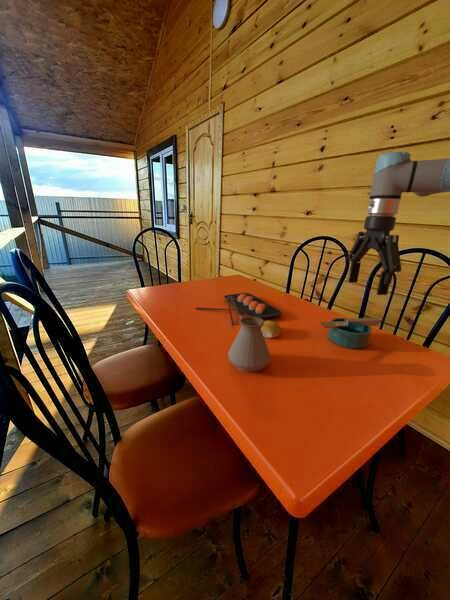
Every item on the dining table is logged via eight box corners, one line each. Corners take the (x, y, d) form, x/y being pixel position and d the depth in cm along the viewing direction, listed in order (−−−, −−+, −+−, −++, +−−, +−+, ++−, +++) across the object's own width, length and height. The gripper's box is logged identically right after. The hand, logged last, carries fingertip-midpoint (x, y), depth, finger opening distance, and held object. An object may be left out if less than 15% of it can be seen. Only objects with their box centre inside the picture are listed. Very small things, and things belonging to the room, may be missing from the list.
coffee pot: (277, 372, 66) (283, 319, 61) (237, 380, 63) (240, 325, 58) (244, 335, 85) (247, 293, 80) (211, 340, 81) (212, 296, 77)
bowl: (352, 331, 91) (355, 317, 89) (376, 349, 80) (380, 333, 78) (320, 332, 89) (323, 318, 88) (340, 350, 78) (343, 334, 76)
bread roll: (282, 330, 90) (283, 319, 89) (277, 341, 83) (278, 329, 81) (259, 325, 93) (260, 315, 92) (252, 335, 86) (253, 324, 84)
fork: (372, 322, 85) (374, 317, 85) (379, 326, 82) (381, 321, 82) (320, 324, 83) (321, 318, 82) (325, 328, 80) (326, 322, 79)
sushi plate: (284, 318, 101) (285, 309, 100) (215, 330, 89) (215, 319, 87) (248, 296, 126) (249, 288, 124) (190, 303, 113) (190, 294, 112)
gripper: (343, 214, 83) (333, 278, 90) (404, 216, 59) (383, 301, 66) (364, 215, 84) (352, 277, 91) (432, 216, 60) (409, 300, 67)
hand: (365, 288), depth 79 cm, fingers open, 13 cm apart
